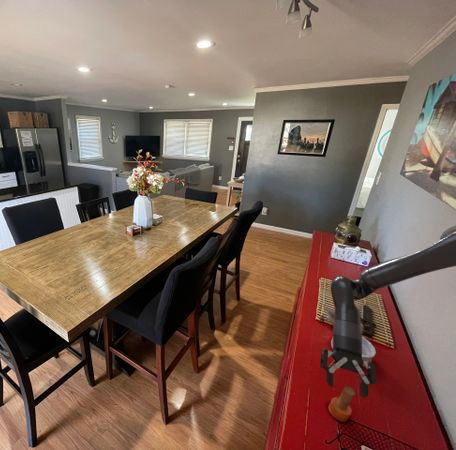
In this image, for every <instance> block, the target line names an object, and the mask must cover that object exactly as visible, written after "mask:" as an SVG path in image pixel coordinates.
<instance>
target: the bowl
mask: <svg viewBox="0 0 456 450" xmlns="http://www.w3.org/2000/svg"><path fill="white" fill-rule="evenodd" d="M330 346H331V348H332V349H333V337H332V339H331V340H330ZM376 354H377V352H376V348H375V346H374V345H373V344H372V342H370V341H369V340H368V339H366V337H364V336H362V359H363V361H366V362H372V361H373V360H374V358H375V356H376ZM361 367H365V366H364V364H363V365H362V366H361Z"/></svg>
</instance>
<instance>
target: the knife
mask: <svg viewBox="0 0 456 450" xmlns="http://www.w3.org/2000/svg"><path fill="white" fill-rule="evenodd" d="M366 322H367V324H368V325H366V324H365V323H366ZM361 323H362V324H363V326H364V332H363V334H362V335H365V336H367V337H368V336H369V337H374V336H373V335H374V333H375V328H376V326H377V323H375V322H374V321H373V309H372V308H371V307H369V306H368V305H367V304H364V305H361Z"/></svg>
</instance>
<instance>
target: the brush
mask: <svg viewBox="0 0 456 450" xmlns="http://www.w3.org/2000/svg"><path fill="white" fill-rule="evenodd" d="M355 394H356V392H355V390H354V389H353V388H352V387H350V386H347V385H346V386H344V387H343V390H342V391H341V394H340V395H339V397H333V398H331V399H330V400H331V401H330V403H329V404H328V411H329V413H330V414H331V416H332V417H333V418H335V420H337V421H339V422H341V423H345V422H348V420H349V418H350V416H351V415H352V413H353V411H352V408H351V406H350V403H351V402H352V401H353V398H354V396H355Z"/></svg>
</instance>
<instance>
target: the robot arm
mask: <svg viewBox="0 0 456 450" xmlns="http://www.w3.org/2000/svg"><path fill="white" fill-rule="evenodd" d="M453 267H456V225H453V226H450V227H448V228H447V229H445V230H444V231H443V232H442V233H441V235H440V237H439V240H438V241H436V242H434V243H432V244H431V245H428V246H427V247H425V248H423V249H420V250H418V251H416V252H412V253H410V254H407V255H404V256H399V257H395V258H391V259H387V260H384V261H382V262H379V263H377V264H374V265H372V266H370V267H367V268H365V269H362V270H361V271H360V273H359V277H358V278H356V279H352V278H350V277H348V276H346V275H337V276H335V277H334V278H333V279H332V280H331V283H330V293H331V298H332V303H333V306H334V311H335V317H334V323H333V325H332V327H333V328H332V338H333V348H332V350H329V349H328V348H321V350H320V360H319V367H320V368H322V369H323V370H324V371H325V372H326V374H325V376H326V377H325V381H326V383H327V385H328V386H329V387H331V388H334V387H335V386H334V385H335V384H334V383H335V374H334V373H335V371H336V370H338V369H343V370H347V371H350V372H353V373H354V374H355V375H356V376H357V378H358V379H359V380H360V382H359V396H360V397H362V398H366V399H367V397H369V392H370V391H369V386H370V385H377V374H376V372H377V371H376V365H375V363H374V362H372V361H371V362H366V361H363V359H362V337H363V334H362V331H361V318H362V314H361V310H360V308H359V307H358V306H357V305H356V303H355V301H359V300H362V299H366V298H367V297H368V296H370V295H372V294H373V293H375V292H377V291H378V290H380V289H384V288H388V287H389V286H392V285H396V284H398V283H401V282H404V281H407V280H409V279H413V278H416V277H418V276H422V275H425V274H428V273H433V272H436V271H440V270H444V269H449V268H453ZM330 357H331V358H332V359H333V361H332V362H330V364H329V365H328V361H329V358H330ZM363 364H364V366H362V365H363ZM361 367H364V368H365V369H366V374H365V372H364V371H363V369H362V368H361Z"/></svg>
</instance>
